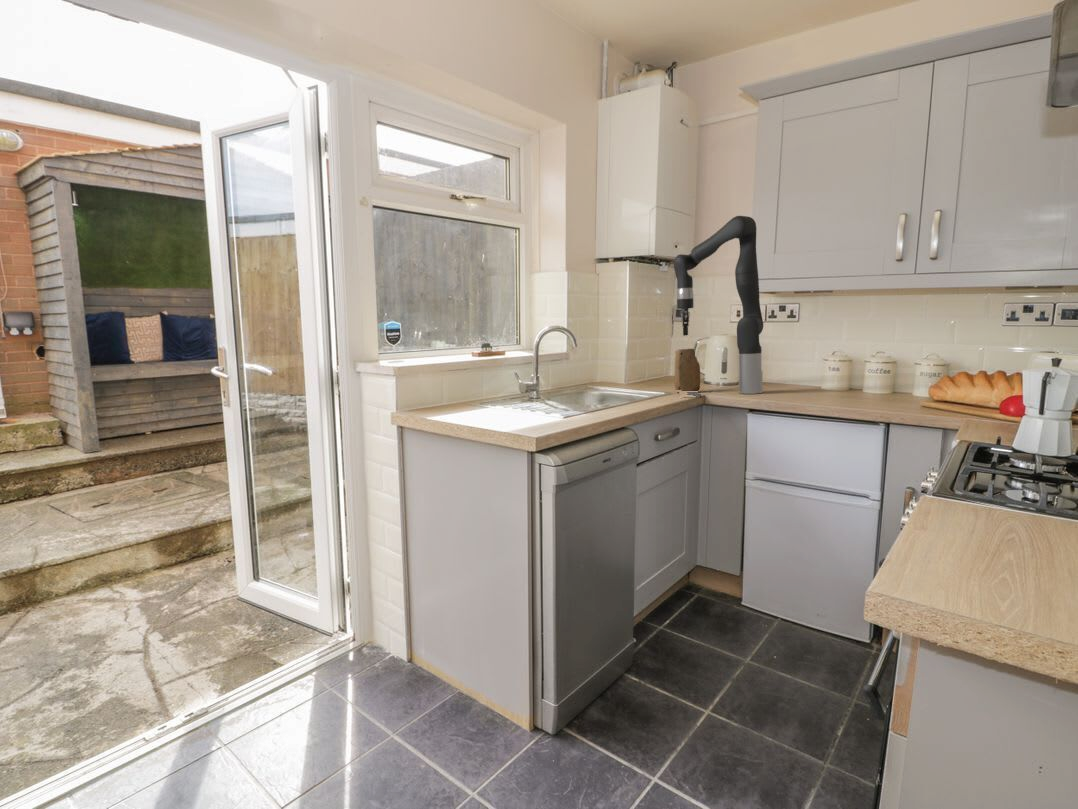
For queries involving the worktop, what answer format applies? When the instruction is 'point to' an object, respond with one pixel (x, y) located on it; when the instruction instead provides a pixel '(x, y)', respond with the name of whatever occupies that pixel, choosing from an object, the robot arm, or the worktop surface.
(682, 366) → the block
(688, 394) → the slate board
